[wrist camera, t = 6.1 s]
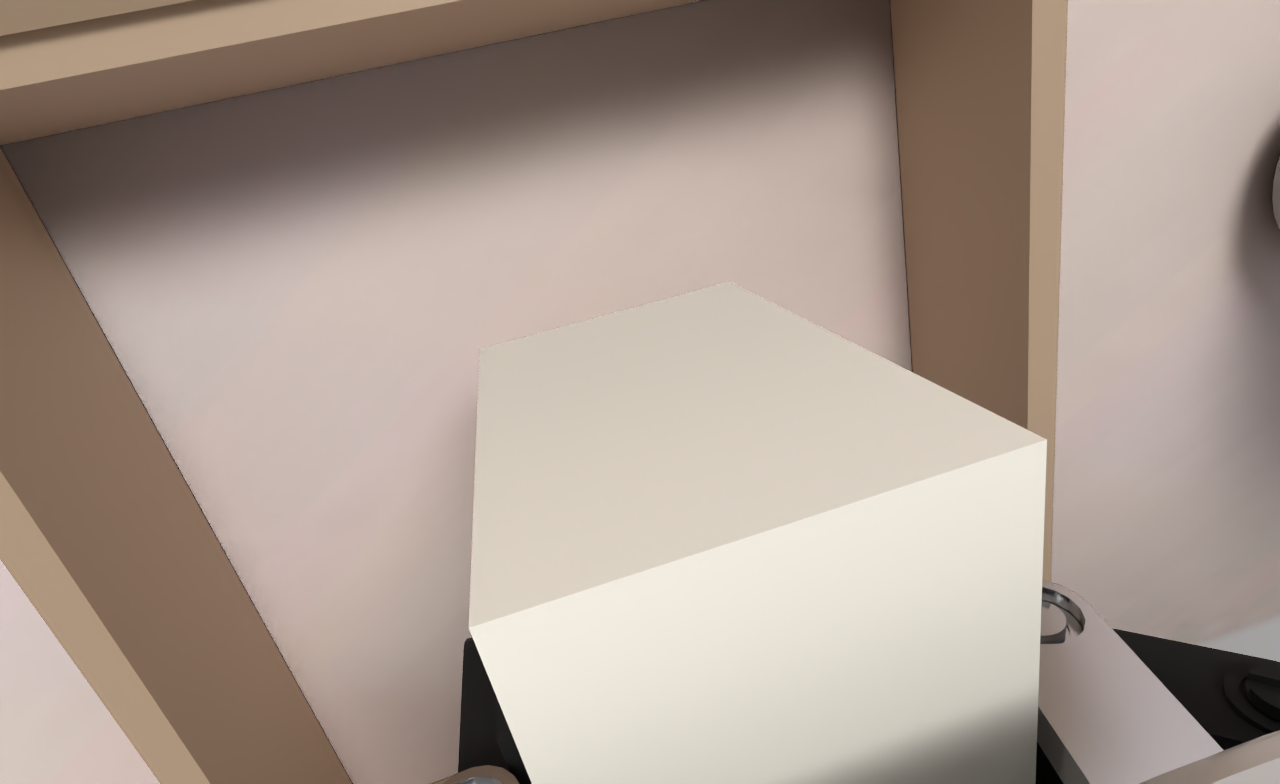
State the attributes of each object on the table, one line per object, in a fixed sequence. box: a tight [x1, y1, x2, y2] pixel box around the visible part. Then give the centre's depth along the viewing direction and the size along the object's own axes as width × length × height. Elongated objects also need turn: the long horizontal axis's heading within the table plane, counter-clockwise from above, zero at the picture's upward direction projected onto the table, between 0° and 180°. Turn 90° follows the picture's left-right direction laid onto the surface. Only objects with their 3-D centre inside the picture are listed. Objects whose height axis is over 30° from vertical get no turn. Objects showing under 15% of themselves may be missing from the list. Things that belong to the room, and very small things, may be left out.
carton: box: [0, 0, 1068, 784], centre depth 15 cm, size 22×28×8 cm
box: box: [469, 281, 1047, 784], centre depth 10 cm, size 4×9×7 cm, turn 13°
